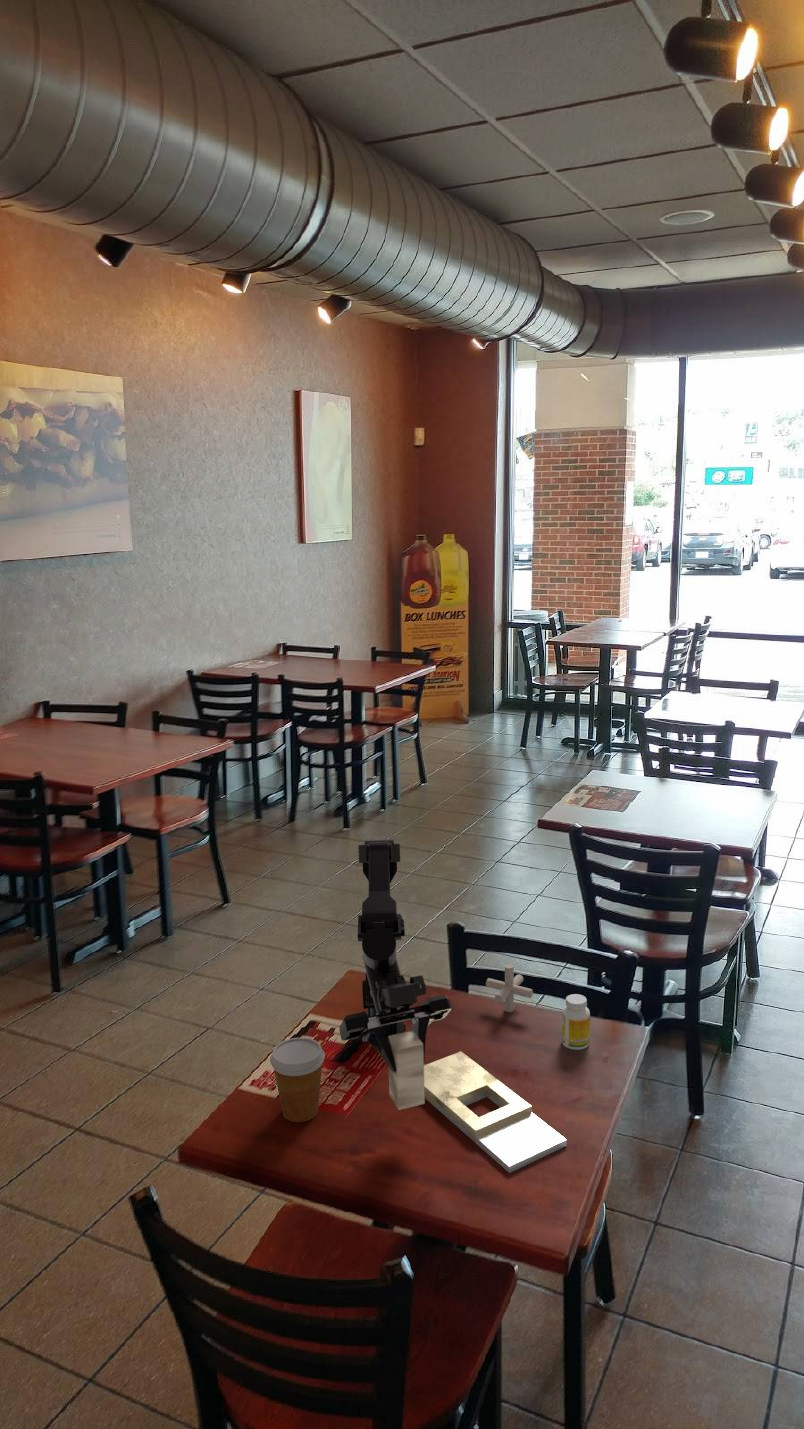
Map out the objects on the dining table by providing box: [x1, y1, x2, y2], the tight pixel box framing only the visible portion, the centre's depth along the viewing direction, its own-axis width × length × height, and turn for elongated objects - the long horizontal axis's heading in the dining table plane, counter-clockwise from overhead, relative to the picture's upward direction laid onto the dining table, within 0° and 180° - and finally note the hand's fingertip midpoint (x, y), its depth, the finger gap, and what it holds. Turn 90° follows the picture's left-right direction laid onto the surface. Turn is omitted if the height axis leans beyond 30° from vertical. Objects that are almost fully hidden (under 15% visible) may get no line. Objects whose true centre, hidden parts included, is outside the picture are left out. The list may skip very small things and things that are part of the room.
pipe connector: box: [485, 963, 534, 1013], centre depth 207 cm, size 10×10×10 cm
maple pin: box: [388, 1030, 426, 1111], centre depth 165 cm, size 5×5×11 cm
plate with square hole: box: [424, 1051, 568, 1174], centre depth 173 cm, size 30×12×2 cm, turn 32°
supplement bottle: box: [561, 993, 591, 1051], centre depth 194 cm, size 5×5×10 cm
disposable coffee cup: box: [269, 1037, 326, 1123], centre depth 174 cm, size 10×10×12 cm
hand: (408, 1068), depth 164 cm, fingers closed on maple pin, 5 cm apart
